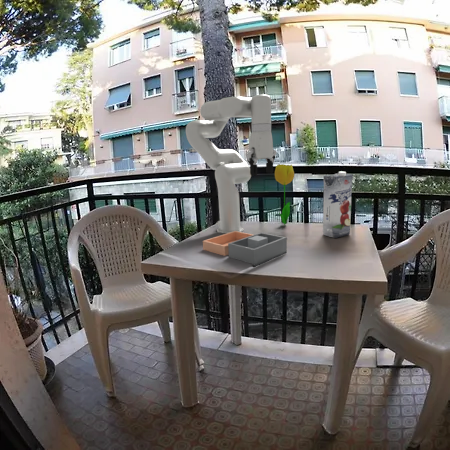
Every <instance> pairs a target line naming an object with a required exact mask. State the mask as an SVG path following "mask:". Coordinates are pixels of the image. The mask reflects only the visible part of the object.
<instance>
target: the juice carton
mask: <svg viewBox="0 0 450 450" xmlns="http://www.w3.org/2000/svg"><path fill="white" fill-rule="evenodd" d="M353 179H354V174H351V173H347V172H346V171H342V170H341V171H338V172H337V173H334V174H330V175H329V174H327V175H326V174H325V175H323V204H322V205H323V208H322V210H323V211H322V213H323V214H322V216H323V217H322V220H323V221H322V234H323V236H327V237H330V238H333V239H338V238H339V239H340V238H343V237H346V236H350V234H351V216H352V215H351V214H352V194H353V193H352V192H353V190H352V189H353Z"/></svg>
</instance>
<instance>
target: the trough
mask: <svg viewBox="0 0 450 450" xmlns="http://www.w3.org/2000/svg"><path fill="white" fill-rule="evenodd" d="M252 235H254V234H253V233H247V232H244V231H241V232H238V231H233V232H230V233H223V234H221V235H217V236H214V237H211V238H208V239H205V240H202V248H203V249H202V250H203V251H206V252H210V253H213V254H217V255H220V256H222V257H223V256H229V249H228V243H231V242H234V241H237V240H240V239H243V238H246V237H249V236H252Z"/></svg>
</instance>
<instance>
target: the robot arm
mask: <svg viewBox="0 0 450 450" xmlns="http://www.w3.org/2000/svg"><path fill="white" fill-rule="evenodd" d="M199 112H200V113H199V114H200V116H201V117H202V118H203V119H198V120H197V119H196V120H191V121H189V122H188V123H187V125H186V126H185V134H186V135H185V136H186V139H187V141H188V143H189V145H190V146H191V147H192V149H194V151H196V152H197V153H198V154H199V155H200V156H201V158H202V159H203V161H204V162H205V163H206V164H207V166H208V167H209V169H211V170H213V171H214V179H215V181H216V186H217V196H218V210H219V213H218V214H219V220H217V222H216V223H215V226H218V228H217V229H216V232H217V233H222V234H227V233H230V232H233V231H238V232H244V230H245V229H244V227H242V226H241V216H240V215H241V213H240V212H241V211H240V193H239V191H238V189H237V186H236V185H238V184H245V183H247V182H249V180H251V177H252V176H258V165H257V163H258V161H259V160H265V161H266V163H265V170H266V171H265V172H266V174H267V173H268V174H272V173H274V163H275V160H276V155H277V151H276V150H275V149H274V143H273V141H274V140H273V135H272V98H271V96H270V95H269V94H256V95H253V96H252V97H248V96H229V97H222V98H221V99H217V100H209V101H205V102H204V103H203V104H202V105H201V107H200V109H199ZM231 118H251V121H250V122H251V133H249V141H248V151H246V153H245V158H246V161H247V162H248V163H247V162H246V161H245V160H244V159H243V157H242V156H241V155H240V154H239V153H238V152H237V151H236V150H234V149H231V148H225V149H222V148H218V146H216V145H215V144H214V143H213V142H212V141H211V140H209V139H213V138H218V137H219V136H220V135H221V133H222V132H223V130H224V128H225V127H226V125H227V123H229V122H228V121H229V120H230V119H231Z"/></svg>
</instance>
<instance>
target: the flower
mask: <svg viewBox="0 0 450 450" xmlns="http://www.w3.org/2000/svg"><path fill="white" fill-rule="evenodd" d="M294 178H295V171H294V168H293V164H290V165H289V164H287V165H286V164H284V163H283V164H282V163H281V164H277V165H276V166H275V170H274V179H275V181H276V182H278V183H279V184H281V185H282V186H283V193H284V194H283V202H284V203H283V208H282V211H281V213H280V212H279V213H278V214H279V215H280V219H281V223H282V224H283V225H286V224H288V219H289V217H290V213H291V206H290V205H291V202H290V201H288V202H287V203H286V186H287V185H288V184H290V183H291V182H292V181H293V180H294Z"/></svg>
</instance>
